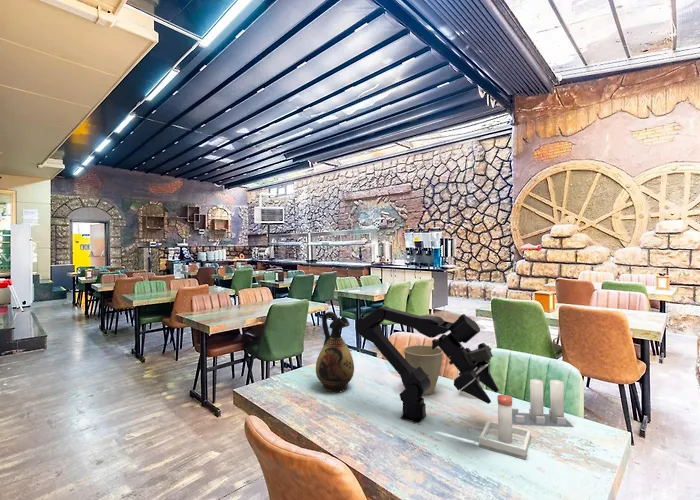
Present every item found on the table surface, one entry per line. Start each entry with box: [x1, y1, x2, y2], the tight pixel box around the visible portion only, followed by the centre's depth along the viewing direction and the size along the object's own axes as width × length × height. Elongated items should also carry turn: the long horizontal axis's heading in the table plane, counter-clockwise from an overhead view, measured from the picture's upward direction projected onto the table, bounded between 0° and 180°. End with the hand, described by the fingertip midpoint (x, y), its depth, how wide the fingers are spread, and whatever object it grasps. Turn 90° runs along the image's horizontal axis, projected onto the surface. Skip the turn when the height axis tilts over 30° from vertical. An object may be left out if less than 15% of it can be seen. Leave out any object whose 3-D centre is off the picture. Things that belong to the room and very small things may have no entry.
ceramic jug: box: [315, 311, 355, 393], centre depth 141 cm, size 17×15×30 cm
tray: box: [478, 420, 532, 460], centre depth 99 cm, size 12×12×2 cm
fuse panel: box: [512, 378, 575, 428], centre depth 110 cm, size 19×8×13 cm, turn 83°
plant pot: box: [403, 344, 444, 396], centre depth 136 cm, size 15×15×16 cm
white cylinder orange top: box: [496, 394, 513, 444], centre depth 99 cm, size 4×4×12 cm
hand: (493, 397), depth 101 cm, fingers open, 9 cm apart
